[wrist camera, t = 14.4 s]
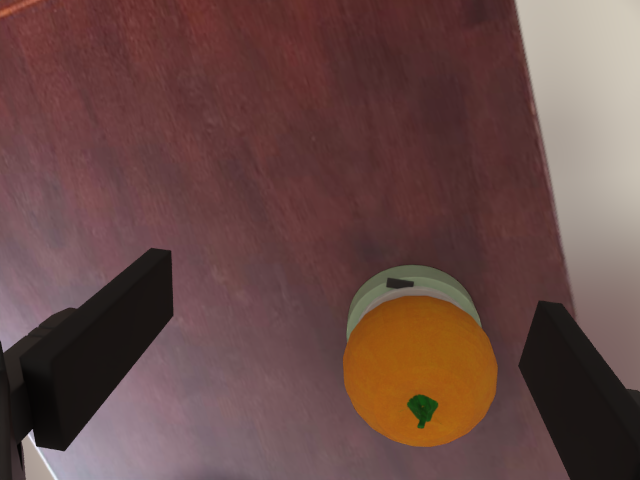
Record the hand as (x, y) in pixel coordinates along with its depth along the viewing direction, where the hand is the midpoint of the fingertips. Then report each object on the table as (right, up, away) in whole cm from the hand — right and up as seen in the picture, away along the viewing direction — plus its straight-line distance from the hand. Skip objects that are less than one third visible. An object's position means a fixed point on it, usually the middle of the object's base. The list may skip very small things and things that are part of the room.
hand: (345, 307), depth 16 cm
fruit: (+7, -6, +23) cm, 25 cm away
